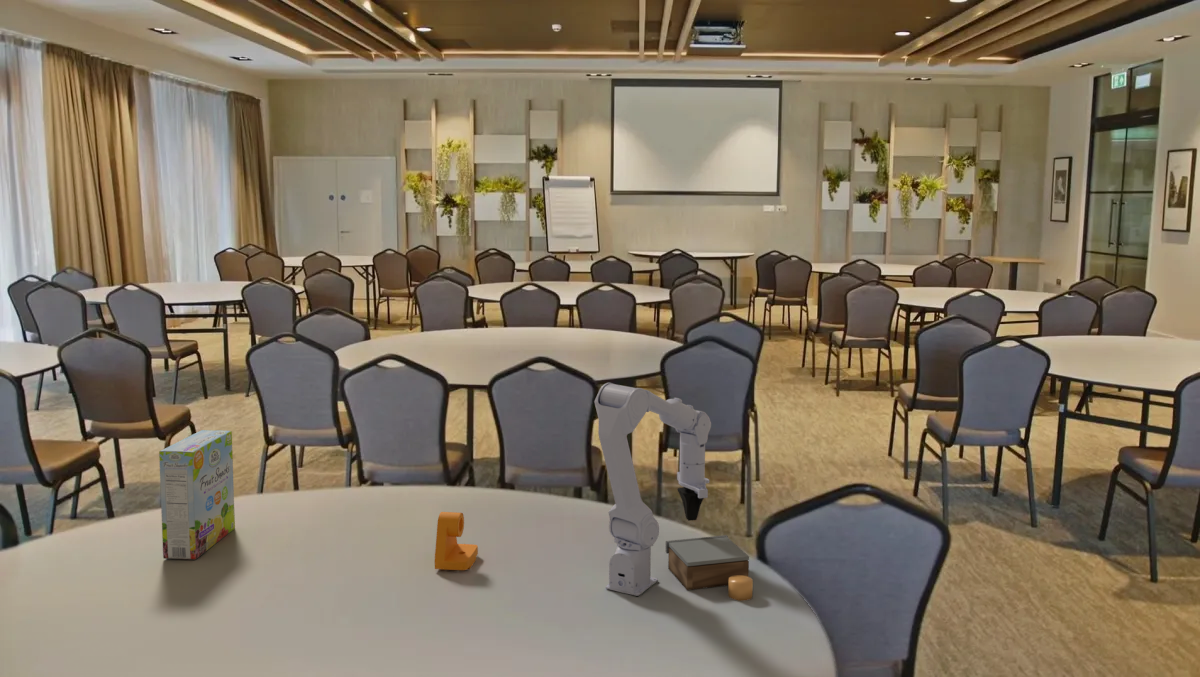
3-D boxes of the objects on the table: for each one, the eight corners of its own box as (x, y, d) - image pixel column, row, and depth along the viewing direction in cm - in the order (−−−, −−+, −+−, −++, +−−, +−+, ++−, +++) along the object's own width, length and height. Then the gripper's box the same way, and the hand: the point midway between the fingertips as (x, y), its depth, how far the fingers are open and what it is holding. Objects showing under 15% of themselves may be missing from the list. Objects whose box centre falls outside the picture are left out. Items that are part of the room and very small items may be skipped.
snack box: (199, 561, 209) (192, 451, 206) (161, 560, 209) (154, 451, 206) (238, 528, 231) (233, 428, 227) (204, 528, 231) (198, 428, 227)
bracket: (466, 574, 202) (465, 521, 200) (434, 572, 203) (433, 520, 201) (478, 555, 213) (477, 506, 211) (448, 554, 213) (447, 504, 212)
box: (748, 583, 197) (748, 561, 196) (687, 590, 193) (687, 567, 193) (726, 562, 208) (726, 541, 208) (668, 568, 205) (668, 547, 204)
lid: (750, 567, 196) (750, 556, 196) (686, 574, 193) (686, 562, 192) (726, 546, 209) (726, 535, 209) (665, 552, 205) (665, 541, 205)
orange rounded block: (747, 602, 187) (747, 586, 187) (724, 597, 190) (724, 581, 189) (755, 594, 192) (756, 578, 191) (733, 589, 194) (733, 573, 194)
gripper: (720, 469, 202) (719, 528, 204) (697, 452, 215) (696, 507, 217) (690, 471, 200) (689, 531, 202) (668, 454, 214) (668, 510, 216)
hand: (691, 519), depth 209 cm, fingers closed
